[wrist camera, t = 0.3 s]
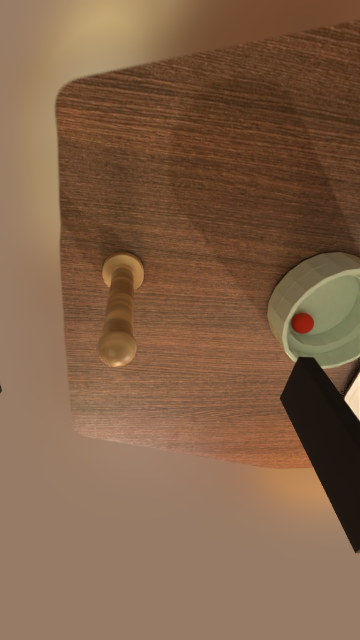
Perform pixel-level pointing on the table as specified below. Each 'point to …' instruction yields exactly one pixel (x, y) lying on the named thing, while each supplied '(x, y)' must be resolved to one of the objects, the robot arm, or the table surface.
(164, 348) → the table surface
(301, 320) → the tomato
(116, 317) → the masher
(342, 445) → the robot arm
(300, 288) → the bowl
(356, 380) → the plate
